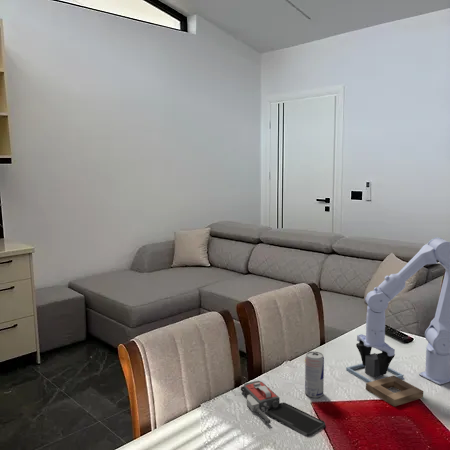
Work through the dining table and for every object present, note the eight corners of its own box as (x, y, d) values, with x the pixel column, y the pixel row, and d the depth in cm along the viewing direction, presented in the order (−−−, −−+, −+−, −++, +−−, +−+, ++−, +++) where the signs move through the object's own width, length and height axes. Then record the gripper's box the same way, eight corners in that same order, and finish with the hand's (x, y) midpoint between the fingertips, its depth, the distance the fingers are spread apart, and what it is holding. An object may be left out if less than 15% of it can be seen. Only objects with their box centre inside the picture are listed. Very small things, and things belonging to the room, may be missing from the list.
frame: (374, 363, 154) (374, 360, 154) (403, 377, 143) (403, 374, 143) (346, 370, 149) (346, 367, 149) (373, 386, 138) (373, 383, 137)
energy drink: (325, 391, 135) (325, 352, 133) (321, 399, 130) (321, 359, 128) (307, 388, 137) (307, 350, 136) (302, 396, 132) (303, 356, 131)
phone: (283, 401, 128) (327, 423, 117) (283, 405, 128) (327, 427, 117) (263, 411, 123) (308, 435, 112) (263, 415, 123) (308, 439, 112)
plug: (374, 370, 148) (374, 353, 148) (383, 375, 145) (384, 357, 144) (365, 373, 147) (365, 355, 146) (373, 378, 143) (374, 360, 142)
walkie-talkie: (234, 393, 135) (265, 428, 117) (234, 379, 134) (265, 412, 116) (260, 387, 138) (295, 420, 120) (260, 374, 138) (295, 404, 119)
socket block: (393, 381, 140) (393, 375, 140) (423, 397, 130) (423, 391, 130) (365, 389, 136) (365, 383, 135) (394, 406, 126) (394, 399, 125)
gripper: (350, 323, 149) (349, 363, 150) (382, 338, 136) (381, 381, 137) (366, 320, 152) (365, 359, 153) (400, 334, 139) (398, 376, 140)
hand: (374, 369), depth 146 cm, fingers open, 7 cm apart
